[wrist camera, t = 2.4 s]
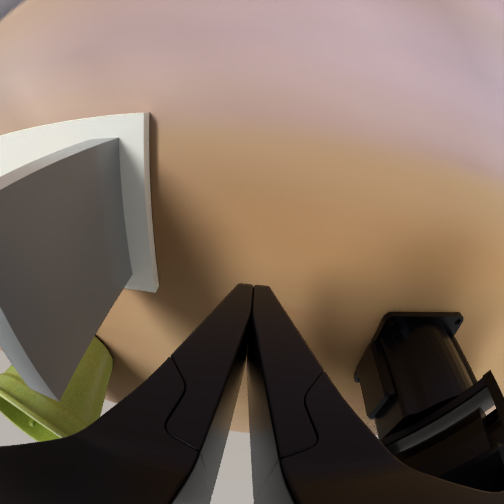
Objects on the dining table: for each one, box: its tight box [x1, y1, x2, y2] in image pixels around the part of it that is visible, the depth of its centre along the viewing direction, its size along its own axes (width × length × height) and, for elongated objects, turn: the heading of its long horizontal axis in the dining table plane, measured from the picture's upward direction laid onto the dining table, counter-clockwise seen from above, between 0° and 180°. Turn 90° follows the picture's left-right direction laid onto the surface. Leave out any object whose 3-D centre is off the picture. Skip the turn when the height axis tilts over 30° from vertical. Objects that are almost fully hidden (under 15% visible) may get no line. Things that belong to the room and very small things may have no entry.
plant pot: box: [0, 336, 113, 442], centre depth 15 cm, size 9×9×9 cm
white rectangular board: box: [0, 112, 159, 293], centre depth 13 cm, size 14×9×1 cm, turn 85°
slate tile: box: [0, 137, 133, 402], centre depth 9 cm, size 2×7×8 cm, turn 175°
